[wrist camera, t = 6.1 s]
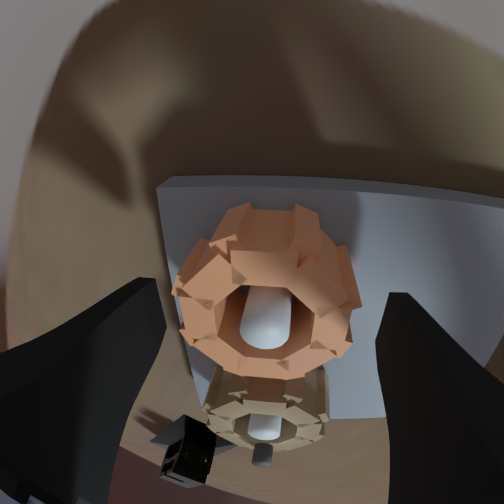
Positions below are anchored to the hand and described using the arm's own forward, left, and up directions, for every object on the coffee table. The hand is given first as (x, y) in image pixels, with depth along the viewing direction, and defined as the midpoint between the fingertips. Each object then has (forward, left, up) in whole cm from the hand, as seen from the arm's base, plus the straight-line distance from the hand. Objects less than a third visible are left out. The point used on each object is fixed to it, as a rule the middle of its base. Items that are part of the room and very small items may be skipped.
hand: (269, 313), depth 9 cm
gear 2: (0, +6, -2) cm, 7 cm away
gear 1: (0, 0, -2) cm, 2 cm away
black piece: (+7, +19, -4) cm, 21 cm away
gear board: (-4, +3, -4) cm, 6 cm away
